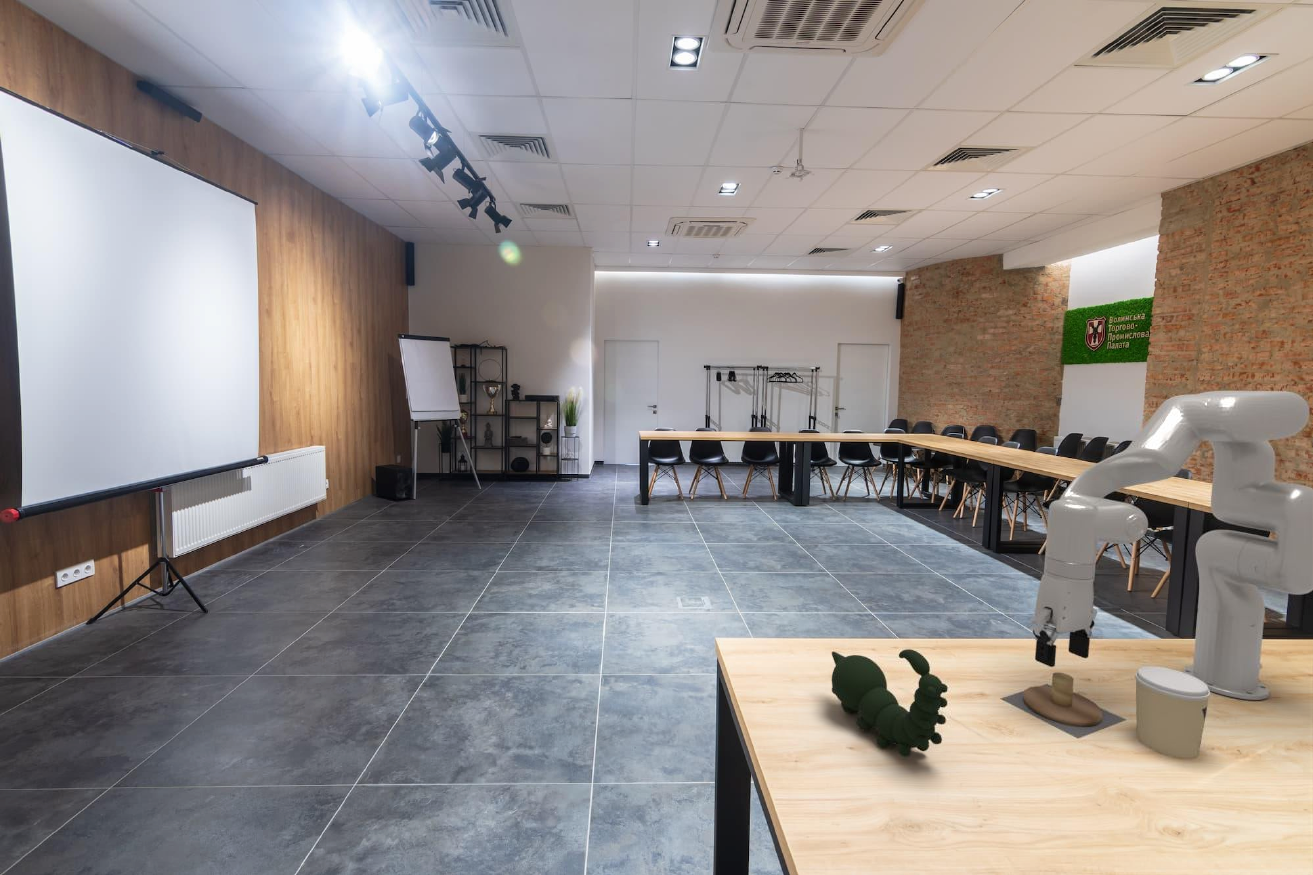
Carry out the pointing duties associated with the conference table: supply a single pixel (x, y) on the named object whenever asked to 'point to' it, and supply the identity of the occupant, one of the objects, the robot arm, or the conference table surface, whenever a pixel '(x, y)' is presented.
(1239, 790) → the conference table surface
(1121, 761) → the conference table surface
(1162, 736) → the coffee cup
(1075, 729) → the mat
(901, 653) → the toy figurine
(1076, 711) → the lid
